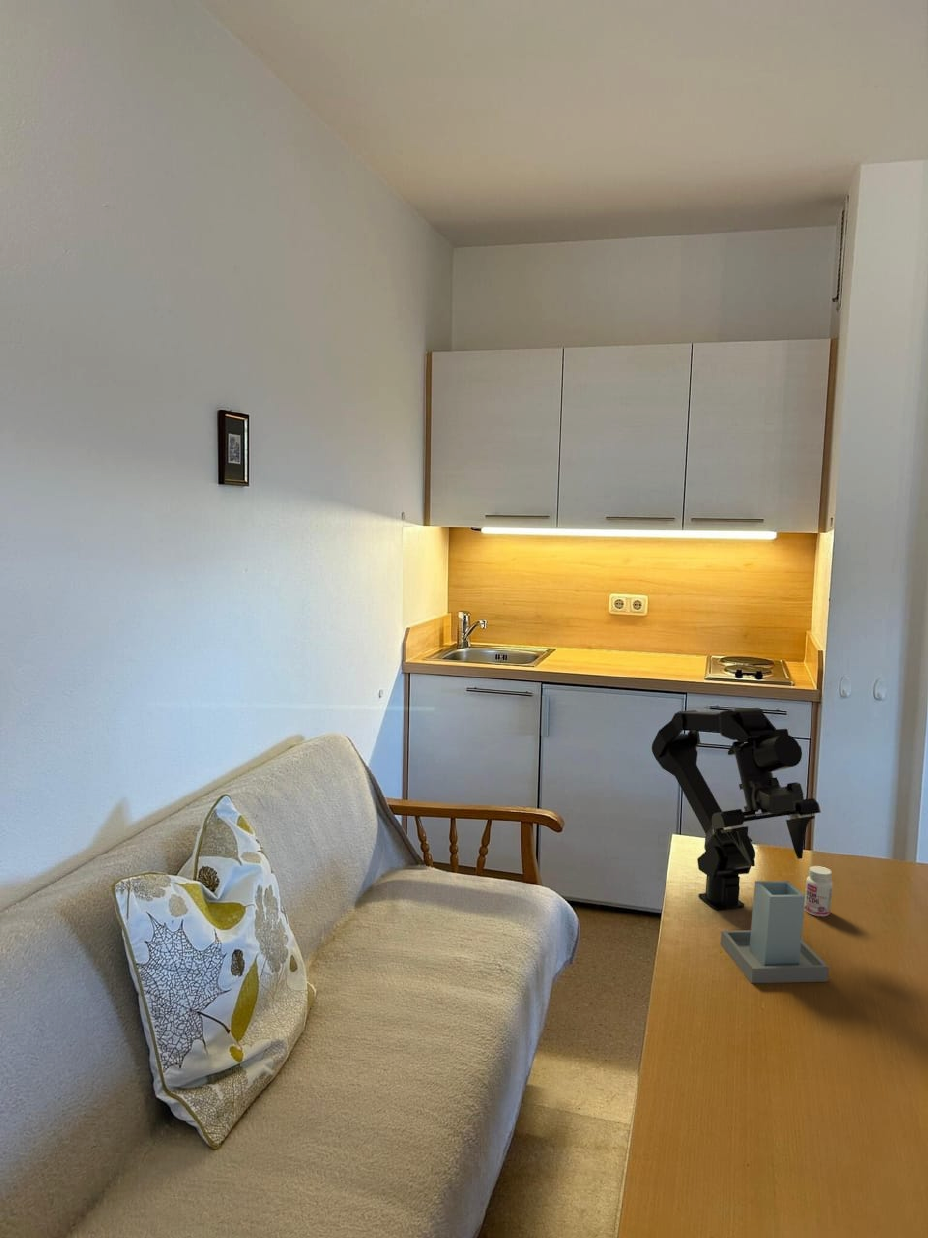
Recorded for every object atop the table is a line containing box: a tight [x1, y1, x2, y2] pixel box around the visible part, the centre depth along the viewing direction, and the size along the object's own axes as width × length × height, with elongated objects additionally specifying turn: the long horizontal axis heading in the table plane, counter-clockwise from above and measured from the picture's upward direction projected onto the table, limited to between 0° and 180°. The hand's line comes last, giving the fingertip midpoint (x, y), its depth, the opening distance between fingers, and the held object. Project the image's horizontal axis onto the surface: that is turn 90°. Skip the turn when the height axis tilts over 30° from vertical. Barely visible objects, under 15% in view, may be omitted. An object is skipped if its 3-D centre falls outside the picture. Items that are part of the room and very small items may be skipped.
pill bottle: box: [804, 865, 834, 918], centre depth 173 cm, size 5×5×8 cm
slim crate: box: [749, 880, 805, 966], centre depth 152 cm, size 6×6×12 cm
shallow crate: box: [720, 929, 830, 984], centre depth 153 cm, size 13×13×2 cm
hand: (776, 862), depth 162 cm, fingers open, 9 cm apart
